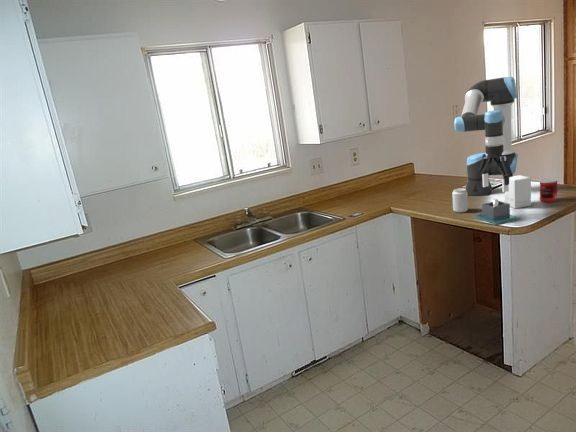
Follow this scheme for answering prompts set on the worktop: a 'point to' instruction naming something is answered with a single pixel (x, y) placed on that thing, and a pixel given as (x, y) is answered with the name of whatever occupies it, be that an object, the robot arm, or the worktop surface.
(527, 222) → the worktop surface
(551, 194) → the canned food
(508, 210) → the grey open box
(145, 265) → the worktop surface
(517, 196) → the supplement box
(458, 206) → the can
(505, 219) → the plate
